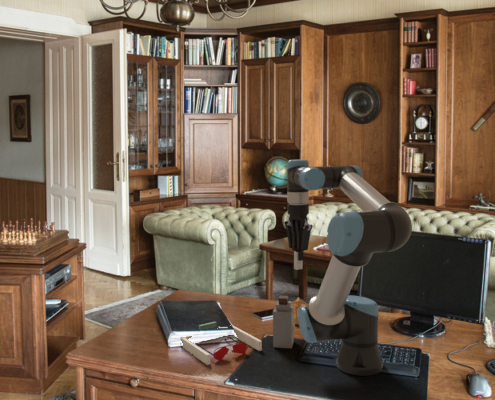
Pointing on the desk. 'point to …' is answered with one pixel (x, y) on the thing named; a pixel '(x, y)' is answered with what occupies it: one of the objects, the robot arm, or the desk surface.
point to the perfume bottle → (283, 323)
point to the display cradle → (205, 356)
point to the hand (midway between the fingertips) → (298, 268)
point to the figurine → (298, 303)
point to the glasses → (237, 348)
